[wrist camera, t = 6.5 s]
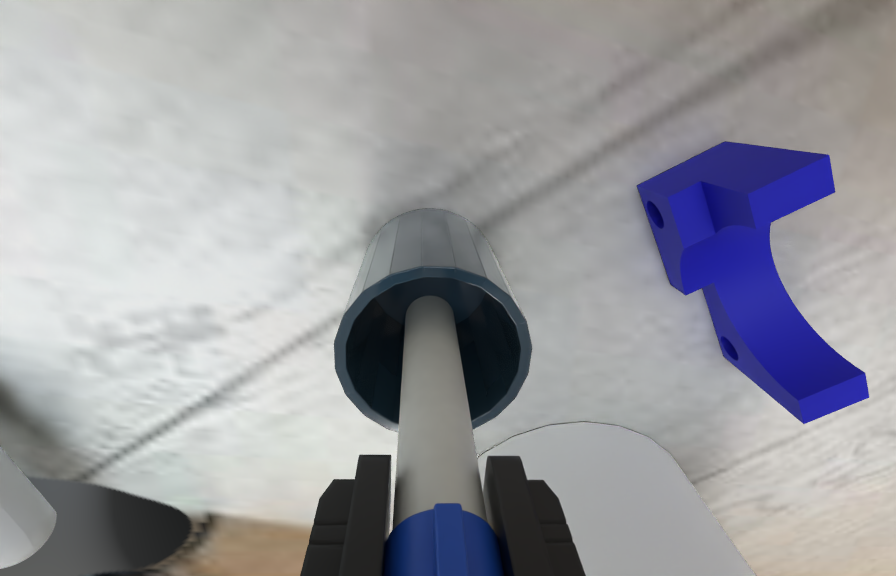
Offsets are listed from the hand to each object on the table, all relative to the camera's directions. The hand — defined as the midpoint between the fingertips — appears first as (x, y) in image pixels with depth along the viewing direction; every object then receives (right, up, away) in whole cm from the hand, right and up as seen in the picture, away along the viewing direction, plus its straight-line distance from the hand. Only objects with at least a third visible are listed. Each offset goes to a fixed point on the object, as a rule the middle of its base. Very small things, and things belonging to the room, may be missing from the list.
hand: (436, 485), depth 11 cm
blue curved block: (+14, +6, +14) cm, 21 cm away
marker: (-1, +3, +8) cm, 9 cm away
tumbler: (-1, +5, +13) cm, 14 cm away
